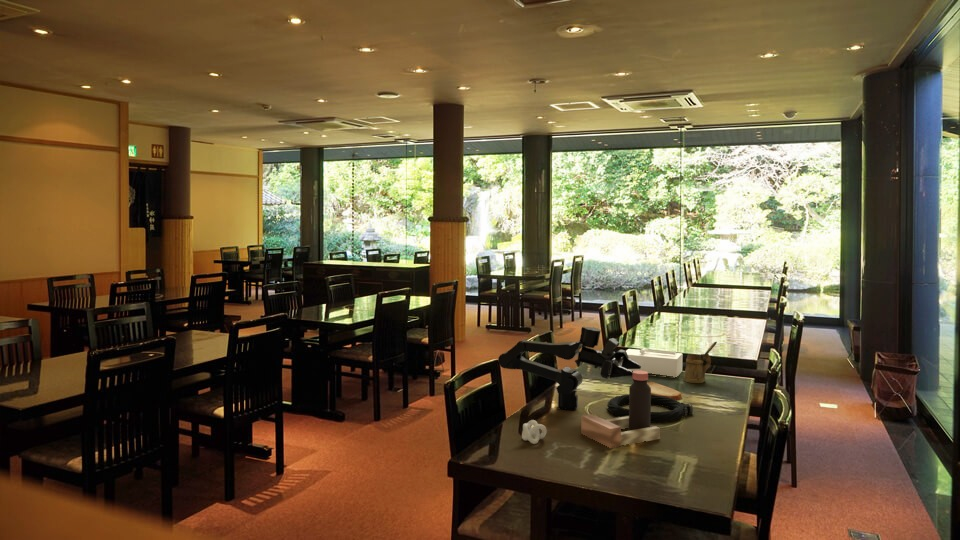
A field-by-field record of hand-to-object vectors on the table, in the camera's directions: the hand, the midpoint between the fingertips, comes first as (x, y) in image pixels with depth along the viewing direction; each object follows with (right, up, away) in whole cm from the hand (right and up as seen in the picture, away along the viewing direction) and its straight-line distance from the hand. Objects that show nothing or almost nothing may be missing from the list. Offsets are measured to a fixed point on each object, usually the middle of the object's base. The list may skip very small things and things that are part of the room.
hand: (637, 370), depth 220 cm
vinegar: (-3, -18, -16) cm, 24 cm away
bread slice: (+16, -15, +33) cm, 40 cm away
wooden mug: (+40, -13, +53) cm, 68 cm away
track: (-10, -18, -19) cm, 28 cm away
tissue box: (+25, -13, +73) cm, 78 cm away
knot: (-39, -19, -23) cm, 49 cm away
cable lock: (+6, -17, +8) cm, 20 cm away
